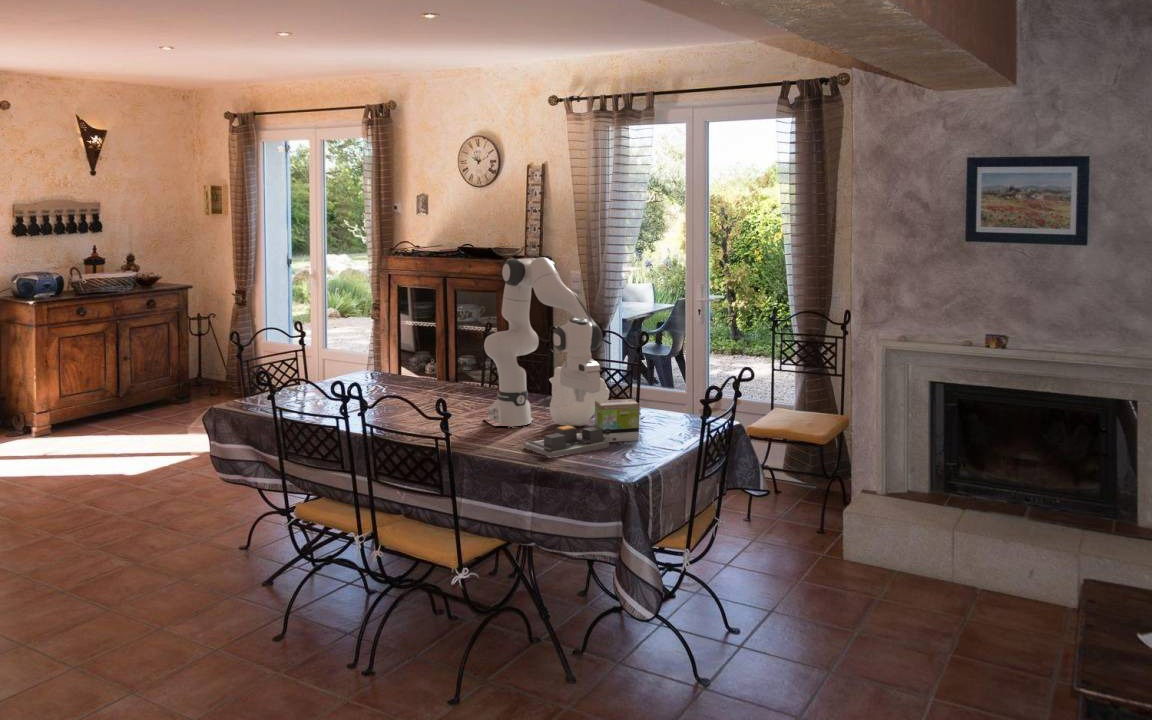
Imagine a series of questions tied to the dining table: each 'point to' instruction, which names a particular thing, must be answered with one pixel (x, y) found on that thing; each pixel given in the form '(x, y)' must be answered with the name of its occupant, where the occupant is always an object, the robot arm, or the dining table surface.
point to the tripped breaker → (568, 434)
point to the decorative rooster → (573, 402)
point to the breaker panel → (558, 445)
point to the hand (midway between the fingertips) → (579, 401)
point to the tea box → (618, 419)
